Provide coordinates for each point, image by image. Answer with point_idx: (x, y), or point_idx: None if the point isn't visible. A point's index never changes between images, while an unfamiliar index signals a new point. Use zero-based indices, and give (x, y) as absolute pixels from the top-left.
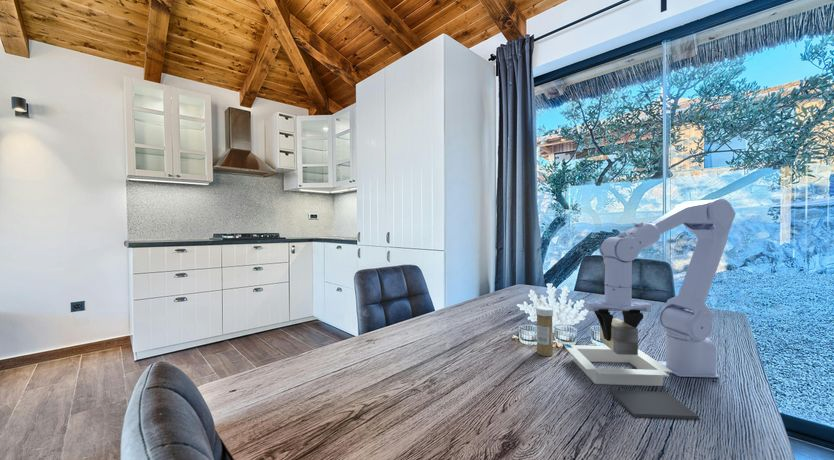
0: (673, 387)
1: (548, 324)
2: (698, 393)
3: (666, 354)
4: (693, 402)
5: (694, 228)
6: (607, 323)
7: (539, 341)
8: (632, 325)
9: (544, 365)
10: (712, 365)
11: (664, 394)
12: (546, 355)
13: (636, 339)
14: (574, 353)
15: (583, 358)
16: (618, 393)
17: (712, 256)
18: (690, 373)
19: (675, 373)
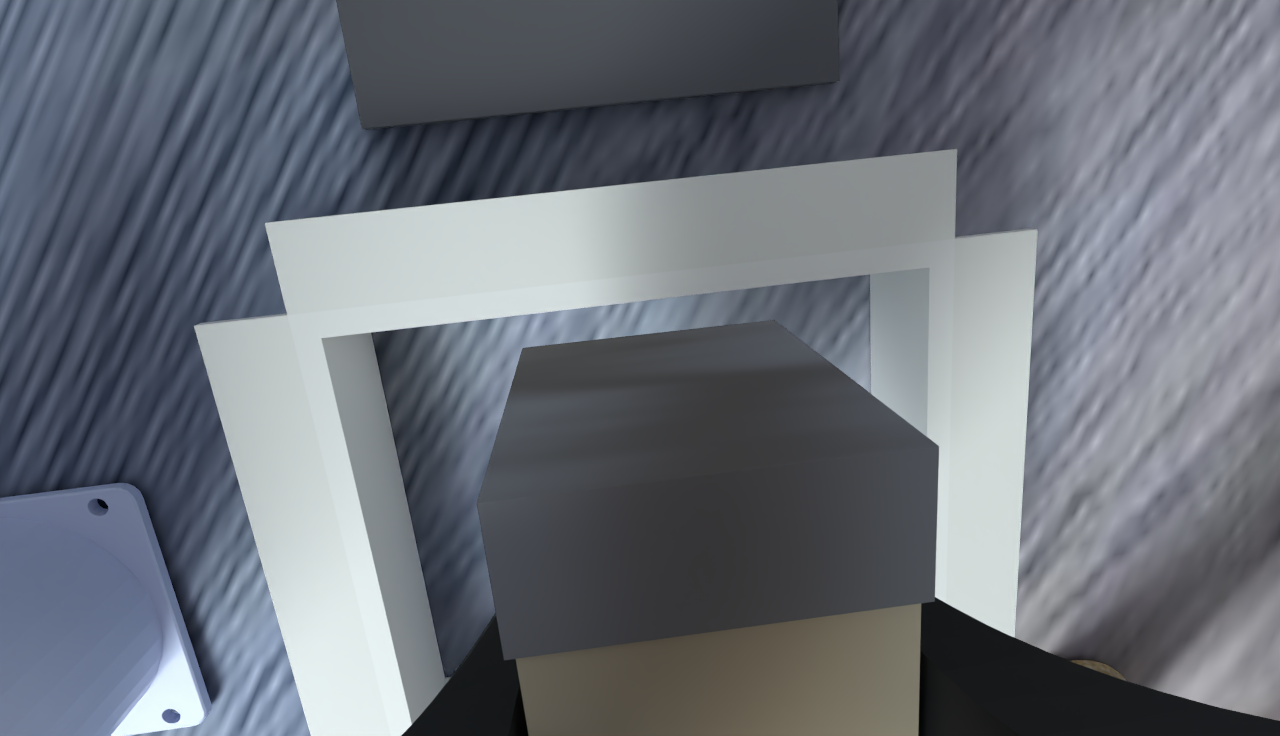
0: (259, 278)
1: None
2: (86, 200)
3: (96, 727)
4: (199, 18)
5: None
6: (1051, 674)
7: None
8: (497, 732)
9: (1153, 492)
10: None
11: (406, 70)
12: (1078, 661)
13: (525, 416)
14: (988, 578)
15: (955, 477)
16: (799, 24)
17: None
18: (7, 520)
19: (141, 514)
